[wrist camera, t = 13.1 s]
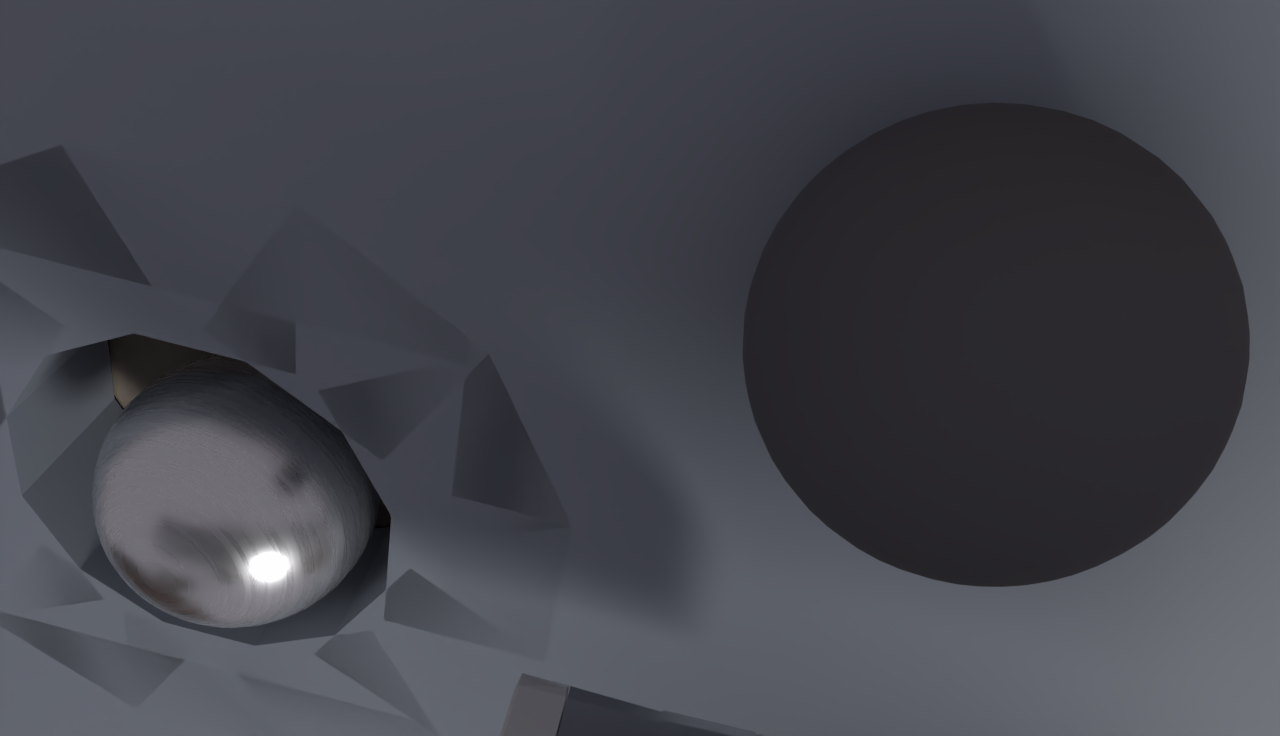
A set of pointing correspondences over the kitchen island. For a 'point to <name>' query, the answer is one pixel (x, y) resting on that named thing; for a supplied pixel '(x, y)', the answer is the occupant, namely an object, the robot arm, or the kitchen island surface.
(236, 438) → the steel ball
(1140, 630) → the board
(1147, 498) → the rubber ball
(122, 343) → the kitchen island surface
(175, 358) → the kitchen island surface
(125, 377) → the kitchen island surface
